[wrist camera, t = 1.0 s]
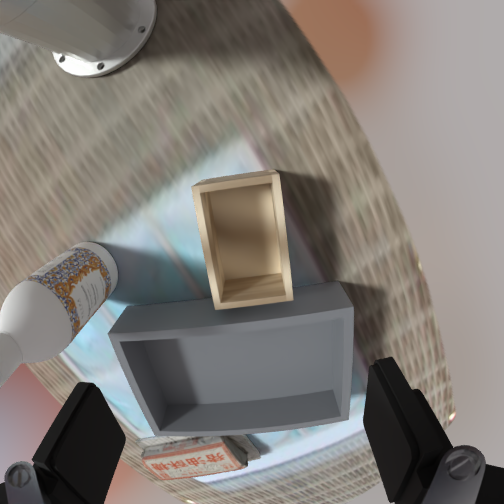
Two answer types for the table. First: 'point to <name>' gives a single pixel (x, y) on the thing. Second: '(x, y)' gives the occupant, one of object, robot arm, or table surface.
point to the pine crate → (244, 239)
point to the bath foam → (54, 305)
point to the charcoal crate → (240, 363)
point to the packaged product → (196, 455)
